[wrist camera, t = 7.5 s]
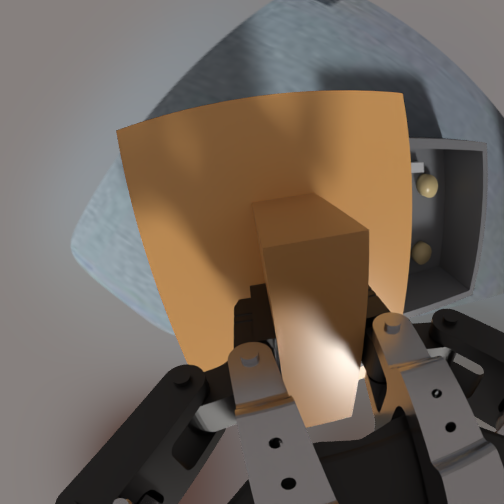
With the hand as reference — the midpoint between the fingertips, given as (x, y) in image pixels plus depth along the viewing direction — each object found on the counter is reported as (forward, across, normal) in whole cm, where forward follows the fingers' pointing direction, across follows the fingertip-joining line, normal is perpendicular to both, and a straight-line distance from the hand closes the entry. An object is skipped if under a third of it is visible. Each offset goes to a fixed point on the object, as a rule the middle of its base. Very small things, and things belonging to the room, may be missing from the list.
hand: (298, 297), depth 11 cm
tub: (+14, -15, +2) cm, 21 cm away
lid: (+3, 0, 0) cm, 3 cm away
